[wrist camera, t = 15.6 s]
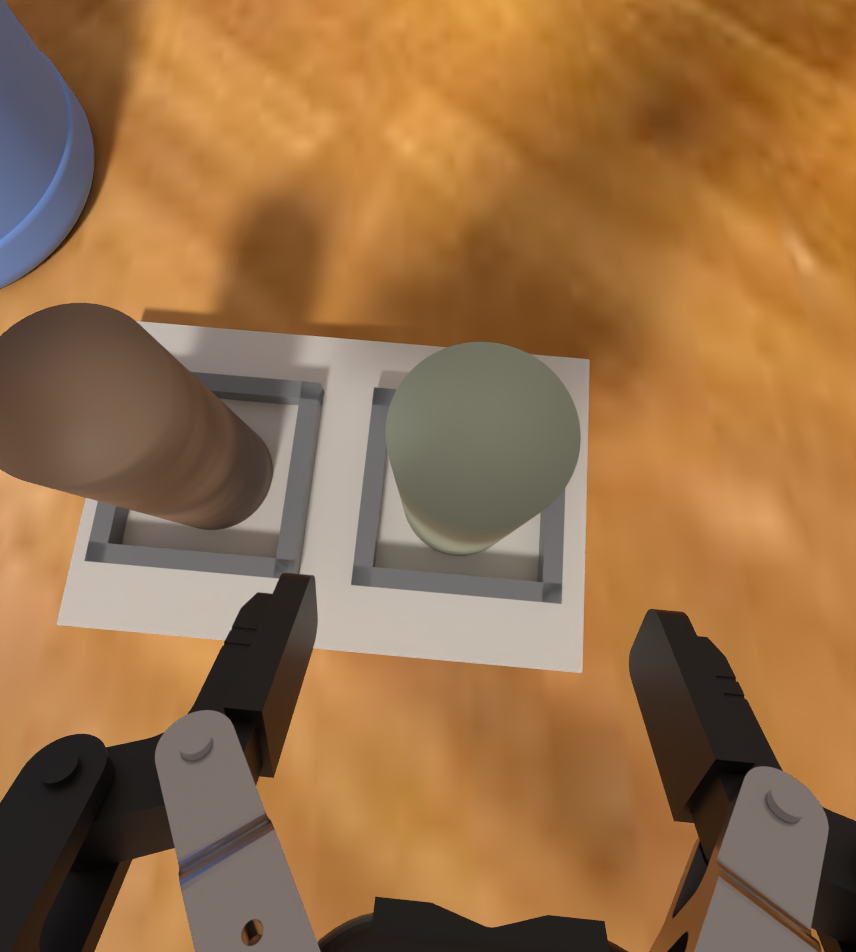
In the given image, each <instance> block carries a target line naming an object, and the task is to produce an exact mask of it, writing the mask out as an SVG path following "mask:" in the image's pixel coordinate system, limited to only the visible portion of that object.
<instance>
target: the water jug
mask: <svg viewBox="0 0 856 952" xmlns="http://www.w3.org/2000/svg"><path fill="white" fill-rule="evenodd" d="M93 173H94V144H93V137H92V133H91V129H90V125H89V122H88V119H87V117H86V114H85V112H84V110H83V108H82V106H81V104H80V102H79V100H78V99H77V97H76V96H75V94H74V93H73V91H72V90H71V88H70V87H69V86H68V84H67V83H66V81H65V80H64V78H63V77H62V76H61V74H60V73H59V71H58V70H57V69H56V67H55V66H54V64H53V63H52V62H51V61H50V60H49V58H48V57H47V56H46V55H45V54H44V53H43V52H42V51H41V50H40V49H39V48H38V47H37V46H36V44H35V43H34V41H33V40H32V39H31V37H30V36H29V34H28V33H27V32H26V30H25V29H24V27H23V26H22V25H21V23H20V22H19V20H18V19H17V18H16V16H15V15H14V13H13V12H12V11H11V9H10V8H9V6H8V5H7V3H6V2H5V1H4V0H0V289H1V288H3V287H5V286H7V285H9V284H11V283H13V282H15V281H16V280H18V279H20V278H21V277H23V276H24V275H26V274H27V273H29V272H30V271H31V270H33V269H34V268H35V267H37V266H38V265H39V264H40V263H42V262H43V261H44V260H45V259H46V258H47V257H48V256H49V255H50V254H51V253H52V252H53V251H54V250H55V249H56V248H57V247H58V246H59V245H60V244H61V243H62V241H63V240H64V239H65V238H66V236H67V235H68V234H69V232H70V231H71V229H72V228H73V226H74V225H75V223H76V221H77V220H78V218H79V216H80V214H81V212H82V210H83V208H84V206H85V203H86V201H87V198H88V195H89V192H90V188H91V184H92V180H93Z"/></svg>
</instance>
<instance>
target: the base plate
mask: <svg viewBox="0 0 856 952" xmlns="http://www.w3.org/2000/svg"><path fill="white" fill-rule="evenodd" d="M136 322H137V323H139V324H140V325H141V326H142V327H143V328H144V329H145V330H146V331H147V332H148V333H149V334H150V335H151V336H153V337H154V338H155V339H156V340H157V341H158V342H159V343H160V344H161V345H162V346H163V347H164V348H165V349H166V350H168V351H169V352H170V353H171V354H172V355H173V356H174V357H175V358H176V359H177V360H178V361H179V362H180V363H181V364H183V365H184V366H185V367H186V368H187V369H188V370H189V371H190V372H191V373H192V374H193V375H194V376H195V377H196V378H197V379H199V380H200V381H201V382H202V383H203V384H204V385H205V386H206V387H207V388H208V389H209V390H210V391H211V392H212V393H214V394H215V395H216V396H217V397H218V398H219V399H220V400H221V401H222V402H223V403H224V404H225V405H226V406H227V407H229V408H230V409H231V410H232V411H233V412H234V413H235V414H236V415H237V416H238V417H239V418H240V419H241V420H242V421H244V422H245V423H246V424H247V425H248V426H249V427H250V428H251V429H252V430H253V431H254V432H255V433H256V434H257V435H258V436H259V437H260V438H261V439H262V440H263V442H264V443H265V445H266V446H267V448H268V450H269V453H270V455H271V459H272V466H273V477H272V482H271V486H270V489H269V492H268V494H267V496H266V498H265V500H264V501H263V503H262V504H261V506H260V507H259V508H258V509H257V510H256V511H255V512H254V513H253V514H252V515H251V516H250V517H248V518H247V519H246V520H244V521H242V522H241V523H239V524H237V525H234V526H232V527H229V528H225V529H219V530H204V529H199V528H195V527H191V526H187V525H184V524H180V523H176V522H173V521H169V520H165V519H162V518H158V517H155V516H151V515H147V514H144V513H140V512H136V511H133V510H129V509H125V508H122V507H118V506H114V505H111V504H107V503H103V502H100V501H96V500H93V499H89V498H86V499H85V503H84V507H83V512H82V516H81V520H80V525H79V529H78V533H77V538H76V542H75V546H74V551H73V555H72V559H71V564H70V568H69V573H68V577H67V581H66V586H65V590H64V594H63V599H62V603H61V607H60V612H59V616H58V620H57V625H63V626H74V627H85V628H96V629H107V630H118V631H129V632H140V633H151V634H162V635H173V636H184V637H195V638H206V639H217V640H226V638H227V636H228V633H229V631H230V630H231V629H232V625H233V623H234V621H235V619H236V617H237V615H238V613H239V611H240V609H241V607H242V606H243V605H245V604H246V603H247V602H248V601H249V600H250V599H251V598H252V597H253V596H254V595H255V594H256V593H257V592H260V593H270V594H273V591H274V589H275V587H276V584H277V582H278V580H279V578H280V576H281V574H282V573H295V574H305V575H314V577H315V583H316V598H317V613H318V626H317V634H316V639H315V643H314V647H313V648H315V649H326V650H337V651H348V652H359V653H370V654H381V655H391V656H402V657H413V658H424V659H435V660H446V661H457V662H468V663H479V664H490V665H501V666H512V667H523V668H534V669H545V670H556V671H566V672H577V673H582V664H583V622H584V579H585V537H586V495H587V452H588V410H589V367H590V359H581V358H569V357H557V356H545V355H533V354H530V355H532V356H534V357H536V358H537V359H538V360H540V361H541V362H543V363H544V364H545V365H546V366H548V367H549V368H550V369H551V370H552V371H553V372H554V373H555V374H556V375H557V376H558V378H559V379H560V380H561V381H562V383H563V384H564V386H565V387H566V389H567V390H568V392H569V394H570V396H571V398H572V400H573V402H574V404H575V407H576V410H577V413H578V418H579V423H580V432H581V443H580V452H579V457H578V462H577V465H576V467H575V470H574V473H573V475H572V477H571V479H570V481H569V483H568V485H567V486H566V487H565V489H564V490H563V492H562V493H561V494H560V496H559V497H558V498H557V499H556V500H555V501H554V502H553V503H552V504H551V505H550V506H548V507H547V508H546V509H545V510H543V511H542V512H541V513H539V514H538V515H536V516H535V517H533V518H532V519H531V520H529V521H528V522H526V523H525V524H523V525H522V526H520V527H519V528H517V529H516V530H515V531H513V532H512V533H510V534H509V535H507V536H506V537H504V538H503V539H502V540H500V541H499V542H497V543H496V544H494V545H493V546H491V547H490V548H488V549H486V550H484V551H482V552H479V553H476V554H472V555H465V556H456V555H449V554H445V553H441V552H439V551H437V550H434V549H433V548H431V547H429V546H428V545H426V544H425V543H424V542H422V541H421V540H420V539H419V538H418V537H417V536H416V534H415V533H414V532H413V530H412V529H411V527H410V525H409V523H408V521H407V518H406V516H405V512H404V509H403V505H402V502H401V498H400V495H399V492H398V488H397V485H396V481H395V478H394V474H393V471H392V468H391V464H390V461H389V457H388V453H387V448H386V439H385V429H386V419H387V413H388V410H389V407H390V403H391V401H392V398H393V396H394V394H395V392H396V390H397V388H398V387H399V385H400V384H401V382H402V380H403V379H404V378H405V377H406V376H407V374H408V373H409V372H410V371H411V370H412V369H413V368H414V367H415V366H416V365H417V364H419V363H420V362H421V361H423V360H424V359H425V358H427V357H428V356H430V355H432V354H434V353H436V352H437V351H439V350H442V349H445V348H447V347H438V346H426V345H415V344H403V343H391V342H379V341H367V340H355V339H343V338H331V337H319V336H308V335H296V334H284V333H272V332H260V331H248V330H236V329H224V328H213V327H201V326H189V325H177V324H165V323H153V322H141V321H136Z"/></svg>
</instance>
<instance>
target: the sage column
mask: <svg viewBox="0 0 856 952" xmlns="http://www.w3.org/2000/svg"><path fill="white" fill-rule="evenodd" d="M385 439H386V448H387V453H388V457H389V461H390V464H391V468H392V471H393V474H394V478H395V481H396V485H397V488H398V492H399V495H400V498H401V502H402V505H403V509H404V512H405V516H406V518H407V521H408V523H409V525H410V527H411V529H412V530H413V532H414V533H415V534H416V536H417V537H418V538H419V539H420V540H421V541H422V542H424V543H425V544H426V545H428V546H429V547H431V548H433V549H434V550H437V551H439V552H441V553H445V554H449V555H456V556H465V555H472V554H476V553H479V552H482V551H484V550H486V549H488V548H490V547H491V546H493V545H494V544H496V543H497V542H499V541H500V540H502V539H503V538H504V537H506V536H507V535H509V534H510V533H512V532H513V531H515V530H516V529H517V528H519V527H520V526H522V525H523V524H525V523H526V522H528V521H529V520H531V519H532V518H533V517H535V516H536V515H538V514H539V513H541V512H542V511H543V510H545V509H546V508H547V507H548V506H550V505H551V504H552V503H553V502H554V501H555V500H556V499H557V498H558V497H559V496H560V494H561V493H562V492H563V490H564V489H565V487H566V486H567V485H568V483H569V481H570V479H571V477H572V475H573V473H574V470H575V467H576V465H577V462H578V457H579V452H580V443H581V432H580V423H579V418H578V413H577V410H576V407H575V404H574V402H573V400H572V398H571V396H570V394H569V392H568V390H567V389H566V387H565V386H564V384H563V383H562V381H561V380H560V379H559V378H558V376H557V375H556V374H555V373H554V372H553V371H552V370H551V369H550V368H549V367H548V366H546V365H545V364H544V363H543V362H541V361H540V360H538V359H537V358H536V357H534V356H532V355H530V354H528V353H527V352H525V351H523V350H520V349H517V348H515V347H512V346H509V345H505V344H501V343H493V342H468V343H461V344H457V345H453V346H450V347H447V348H445V349H442V350H439V351H437V352H436V353H434V354H432V355H430V356H428V357H427V358H425V359H424V360H423V361H421V362H420V363H419V364H417V365H416V366H415V367H414V368H413V369H412V370H411V371H410V372H409V373H408V374H407V376H406V377H405V378H404V379H403V380H402V382H401V384H400V385H399V387H398V388H397V390H396V392H395V394H394V396H393V398H392V401H391V403H390V407H389V410H388V413H387V419H386V429H385Z"/></svg>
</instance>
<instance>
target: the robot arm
mask: <svg viewBox="0 0 856 952" xmlns="http://www.w3.org/2000/svg"><path fill="white" fill-rule="evenodd" d="M317 626H318V613H317V598H316V583H315V577H314V575H305V574H295V573H282V574H281V576H280V578H279V580H278V582H277V584H276V587H275V589H274V591H273V594H270V593H260V592H257V593H256V594H255V595H254V596H253V597H252V598H251V599H250V600H249V601H248V602H247V603H246V604H245V605H243V606H242V607H241V609H240V611H239V613H238V615H237V617H236V619H235V621H234V623H233V625H232V629H231V630H230V631H229V633H228V636H227V638H226V640H225V642H224V646H222V648H221V650H220V652H219V654H218V656H217V658H216V660H215V662H214V664H213V666H212V669H211V671H210V673H209V675H208V677H207V679H206V681H205V683H204V685H203V687H202V689H201V691H200V693H199V695H198V697H197V699H196V701H195V703H194V705H193V707H192V709H191V710H190V711H189V713H188V714H187V715H185V716H184V717H182V718H180V719H178V720H177V721H176V722H174V723H173V724H172V725H171V726H170V727H169V728H168V729H167V730H166V731H165V732H164V733H162V734H160V735H157V736H155V737H152V738H148V739H144V740H139V741H135V742H130V743H125V744H120V745H116V746H111V747H105V745H104V743H103V742H102V741H101V740H100V739H98V738H97V737H95V736H92V735H88V734H75V735H70V736H66V737H63V738H61V739H58V740H56V741H54V742H52V743H50V744H49V745H47V746H45V747H44V748H43V749H41V750H40V751H39V752H37V753H36V754H35V755H34V756H33V757H32V758H31V759H30V760H29V761H28V762H27V763H26V765H25V766H24V767H23V769H22V770H21V772H20V773H19V775H18V776H17V778H16V779H15V781H14V782H13V784H12V786H11V787H10V789H9V790H8V792H7V793H6V795H5V796H4V798H3V800H2V801H1V803H0V952H94V951H95V949H96V946H97V944H98V941H99V939H100V937H101V934H102V932H103V929H104V927H105V924H106V922H107V920H108V917H109V915H110V912H111V910H112V907H113V905H114V903H115V900H116V898H117V895H118V893H119V890H120V888H121V886H122V883H123V881H124V878H125V876H126V873H127V871H128V869H129V866H130V864H131V861H132V859H134V858H138V857H142V856H146V855H149V854H153V853H157V852H161V851H164V850H168V849H172V848H175V850H176V854H177V859H178V864H179V881H180V886H181V891H182V896H183V900H184V905H185V909H186V913H187V918H188V922H189V927H190V931H191V935H192V940H193V944H194V949H195V952H628V951H626V950H624V949H623V948H621V947H619V946H618V945H616V944H614V943H612V942H610V941H608V940H607V934H606V928H605V922H604V921H597V920H588V919H579V918H569V917H560V916H550V915H547V916H542V917H538V918H534V919H530V920H525V921H521V922H517V923H512V924H508V925H504V926H500V927H494V928H490V927H485V926H483V925H480V924H478V923H476V922H474V921H471V920H469V919H467V918H465V917H462V916H460V915H458V914H456V913H453V912H451V911H449V910H447V909H444V908H442V907H440V906H438V905H435V904H433V903H429V902H419V901H410V900H400V899H391V898H382V897H375V905H374V913H370V914H366V915H362V916H359V917H357V918H354V919H352V920H349V921H347V922H345V923H343V924H342V925H340V926H338V927H336V928H335V929H333V930H332V931H330V932H329V933H328V934H327V935H325V936H324V937H323V938H321V939H320V940H319V941H318V942H317V941H316V938H315V935H314V933H313V930H312V927H311V925H310V922H309V919H308V917H307V914H306V911H305V909H304V906H303V903H302V900H301V898H300V895H299V892H298V890H297V887H296V884H295V882H294V879H293V876H292V874H291V871H290V868H289V866H288V863H287V860H286V858H285V855H284V852H283V850H282V847H281V844H280V842H279V839H278V837H277V834H276V831H275V829H274V827H273V824H272V822H271V820H270V819H268V817H267V815H266V812H265V810H264V807H263V804H262V802H261V799H260V796H259V794H258V791H257V788H256V784H257V781H258V778H259V776H262V777H272V778H274V775H275V772H276V768H277V765H278V762H279V758H280V755H281V752H282V749H283V745H284V742H285V739H286V735H287V732H288V729H289V726H290V722H291V719H292V716H293V713H294V709H295V706H296V703H297V699H298V696H299V693H300V690H301V686H302V683H303V680H304V676H305V673H306V670H307V667H308V663H309V660H310V657H311V653H312V650H313V647H314V643H315V639H316V634H317ZM629 671H630V676H631V680H632V683H633V687H634V690H635V693H636V697H637V700H638V703H639V706H640V710H641V713H642V716H643V720H644V723H645V726H646V730H647V733H648V736H649V740H650V743H651V746H652V749H653V753H654V756H655V759H656V763H657V766H658V769H659V773H660V776H661V779H662V783H663V786H664V789H665V792H666V796H667V799H668V802H669V806H670V809H671V812H672V816H673V819H674V821H679V822H689V823H694V824H695V827H696V830H697V833H698V836H699V838H698V839H697V840H696V842H695V844H694V847H693V849H692V852H691V854H690V857H689V860H688V862H687V865H686V867H685V870H684V873H683V875H682V878H681V881H680V883H679V886H678V888H677V891H676V894H675V896H674V899H673V901H672V904H671V907H670V909H669V912H668V915H667V917H666V920H665V922H664V924H663V927H662V929H661V931H660V933H659V934H658V936H657V938H656V940H655V941H654V943H653V945H652V947H651V949H650V951H649V952H821V947H820V944H819V942H818V941H817V940H816V939H815V938H814V937H812V936H811V928H813V929H815V930H816V931H817V934H818V936H819V939H820V941H821V944H822V946H823V949H824V951H825V952H856V821H854V820H852V819H849V818H847V817H844V816H842V815H839V814H837V813H835V812H832V811H830V810H828V809H826V808H824V807H822V806H821V804H820V803H819V801H818V800H817V798H816V797H815V796H814V795H813V793H812V792H811V791H810V790H809V789H808V788H807V787H806V786H805V785H803V784H802V783H801V782H800V781H799V780H797V779H796V778H794V777H793V776H791V775H789V774H788V773H786V772H784V771H783V770H782V769H781V767H780V765H779V763H778V761H777V759H776V757H775V755H774V753H773V751H772V749H771V747H770V745H769V743H768V741H767V739H766V737H765V735H764V733H763V731H762V729H761V727H760V725H759V723H758V721H757V719H756V717H755V715H754V713H753V711H752V709H751V707H750V705H749V703H748V701H747V700H746V699H744V693H743V691H742V689H741V687H740V685H739V683H738V682H736V677H735V675H734V673H733V671H732V669H731V667H730V665H729V663H728V661H727V659H726V657H725V656H724V655H723V654H722V652H721V651H720V650H719V649H718V648H717V647H716V646H715V645H714V644H713V643H712V642H711V641H710V640H709V639H708V638H707V637H700V636H697V635H696V633H695V631H694V628H693V626H692V624H691V622H690V620H689V618H688V616H687V615H686V614H685V613H684V612H677V611H666V610H656V609H650V610H648V612H647V613H646V615H645V618H644V620H643V622H642V625H641V627H640V629H639V632H638V634H637V636H636V639H635V641H634V644H633V646H632V648H631V651H630V656H629Z"/></svg>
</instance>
